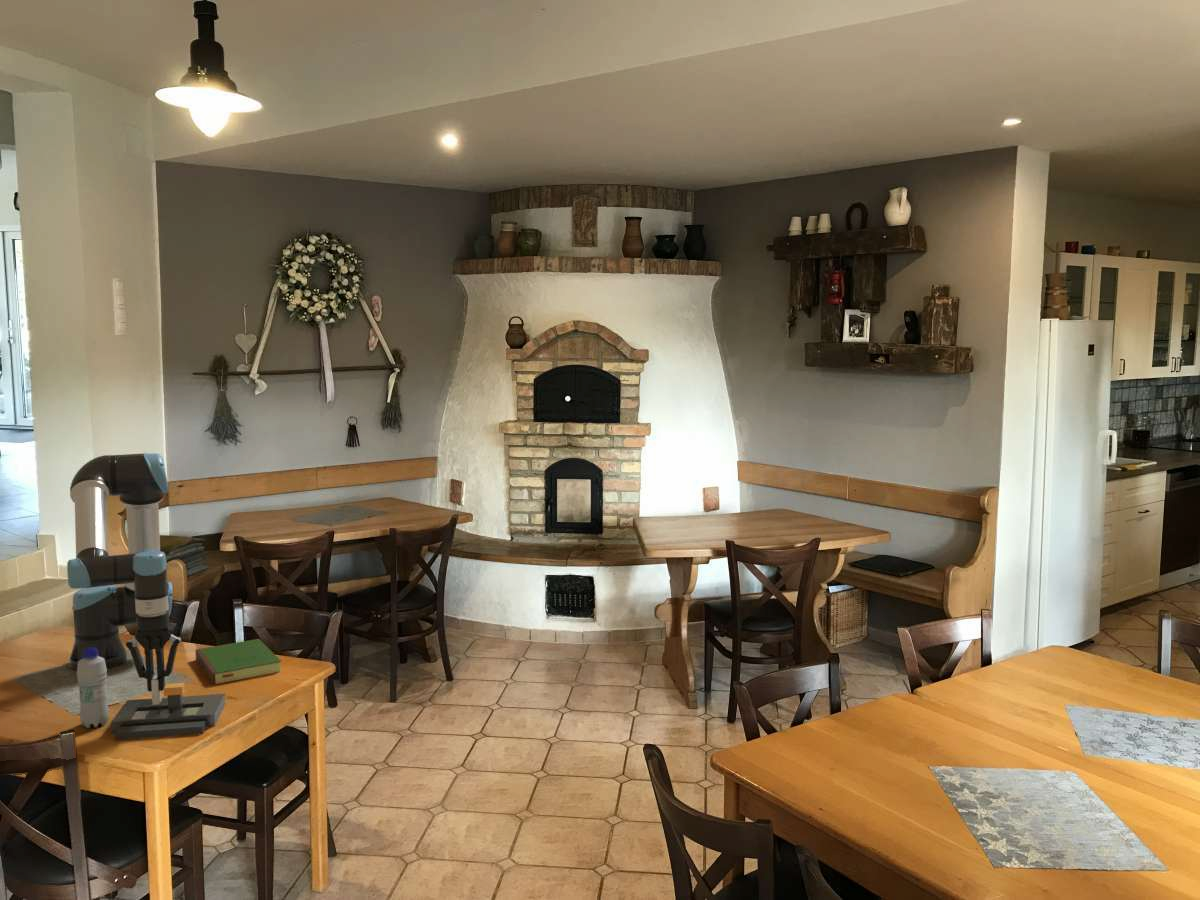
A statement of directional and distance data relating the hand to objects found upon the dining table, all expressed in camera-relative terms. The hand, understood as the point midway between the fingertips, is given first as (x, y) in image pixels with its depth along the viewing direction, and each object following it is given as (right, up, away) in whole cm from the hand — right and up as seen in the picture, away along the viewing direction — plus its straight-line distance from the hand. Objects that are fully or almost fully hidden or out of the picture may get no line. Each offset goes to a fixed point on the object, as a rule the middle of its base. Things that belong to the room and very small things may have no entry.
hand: (157, 702), depth 240 cm
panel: (+3, -4, +1) cm, 5 cm away
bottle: (-14, -5, -3) cm, 15 cm away
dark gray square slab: (+3, -4, +1) cm, 5 cm away
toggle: (+4, -3, +1) cm, 5 cm away
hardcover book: (+6, 0, +40) cm, 40 cm away
